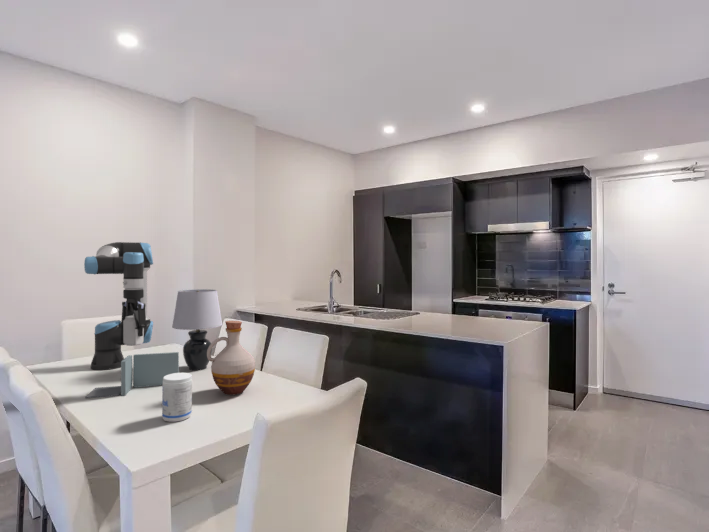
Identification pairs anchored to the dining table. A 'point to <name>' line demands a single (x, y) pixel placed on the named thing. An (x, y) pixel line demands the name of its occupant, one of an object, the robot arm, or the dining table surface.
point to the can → (129, 331)
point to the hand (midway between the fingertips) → (133, 342)
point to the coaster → (104, 392)
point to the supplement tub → (177, 397)
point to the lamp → (197, 323)
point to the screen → (147, 369)
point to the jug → (232, 362)
